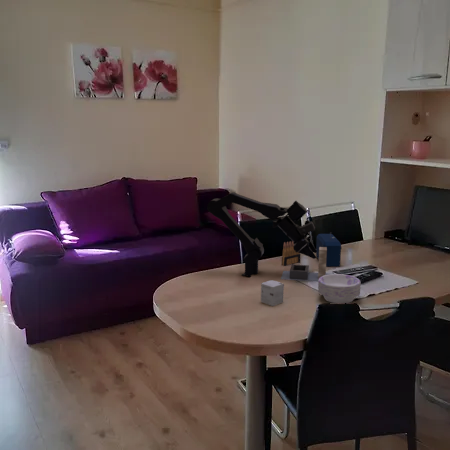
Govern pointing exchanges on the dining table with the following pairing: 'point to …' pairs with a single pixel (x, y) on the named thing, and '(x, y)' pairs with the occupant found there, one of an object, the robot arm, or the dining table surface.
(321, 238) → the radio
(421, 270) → the dining table surface
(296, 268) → the end cap
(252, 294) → the dining table surface
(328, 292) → the paper bowls
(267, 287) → the skincare box
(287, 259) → the ammunition clip
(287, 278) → the base board
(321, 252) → the slat
